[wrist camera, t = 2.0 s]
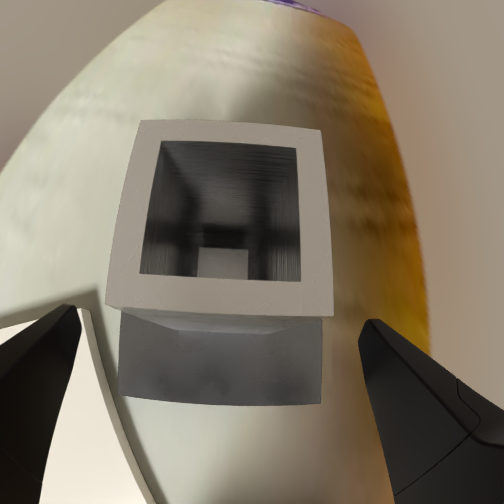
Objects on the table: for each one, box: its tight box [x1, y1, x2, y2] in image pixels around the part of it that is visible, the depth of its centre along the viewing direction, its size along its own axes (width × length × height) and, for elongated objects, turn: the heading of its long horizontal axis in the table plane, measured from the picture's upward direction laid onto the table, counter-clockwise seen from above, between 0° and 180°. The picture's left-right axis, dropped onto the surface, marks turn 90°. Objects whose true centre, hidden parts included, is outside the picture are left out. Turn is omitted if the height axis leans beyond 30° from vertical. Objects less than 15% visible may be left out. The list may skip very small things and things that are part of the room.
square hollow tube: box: [105, 120, 334, 334], centre depth 13 cm, size 5×5×11 cm
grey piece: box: [118, 247, 322, 406], centre depth 17 cm, size 14×12×6 cm
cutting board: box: [0, 308, 156, 504], centre depth 14 cm, size 16×14×2 cm
